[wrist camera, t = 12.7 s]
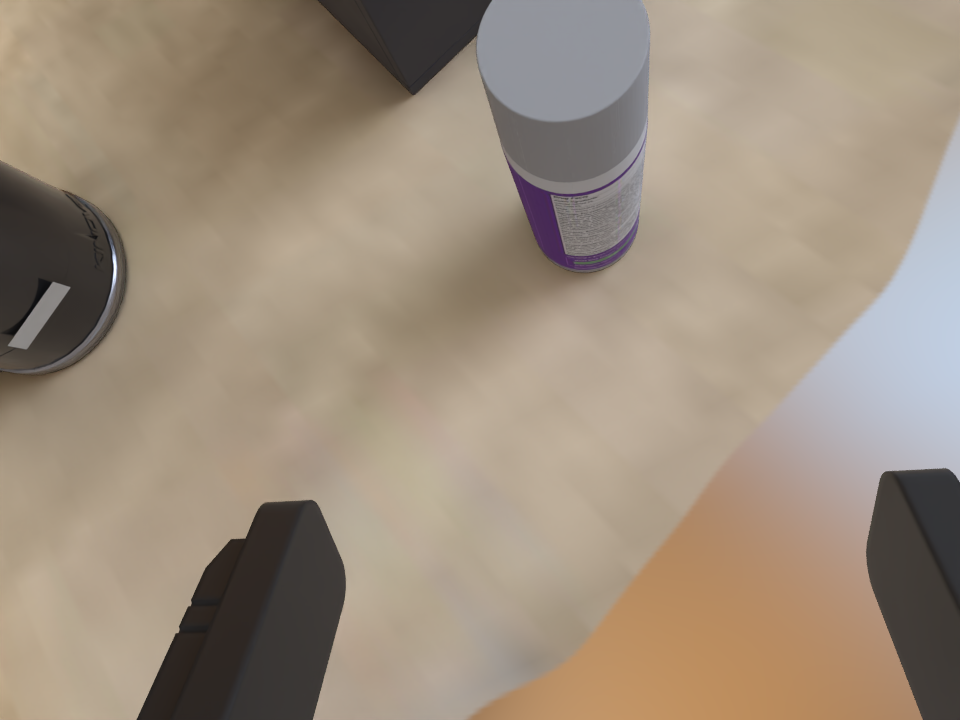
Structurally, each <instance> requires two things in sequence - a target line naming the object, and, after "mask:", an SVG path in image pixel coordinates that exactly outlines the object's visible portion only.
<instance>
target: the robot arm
mask: <svg viewBox="0 0 960 720" xmlns="http://www.w3.org/2000/svg"><path fill="white" fill-rule="evenodd" d="M125 280H126V264H125V256H124V251H123V247H122V244H121V241H120V238H119V236H118V234H117V232H116V230H115V228H114V226H113V225H112V223H111V222H110V220H109V219H108V218H107V217H106V216H105V215H104V214H103V213H102V212H101V211H100V210H99V209H98V208H97V207H96V206H94V205H93V204H91V203H90V202H88V201H86V200H84V199H82V198H80V197H78V196H76V195H74V194H72V193H69V192H66V191H64V190H60V189H57V188H55V187H53V186H51V185H49V184H47V183H45V182H43V181H41V180H39V179H37V178H35V177H33V176H31V175H29V174H27V173H25V172H23V171H21V170H19V169H17V168H15V167H13V166H11V165H9V164H7V163H5V162H3V161H1V160H0V372H2V371H7V372H13V373H19V374H27V375H38V374H46V373H51V372H55V371H58V370H61V369H63V368H66V367H68V366H70V365H72V364H73V363H75V362H77V361H78V360H80V359H81V358H83V357H84V356H85V355H86V354H88V353H89V352H90V351H91V350H92V349H93V348H94V347H95V346H96V345H97V344H98V343H99V342H100V341H101V339H102V338H103V337H104V335H105V334H106V333H107V331H108V330H109V328H110V326H111V325H112V323H113V321H114V319H115V317H116V315H117V313H118V310H119V308H120V305H121V301H122V298H123V293H124V288H125ZM866 557H867V567H868V573H869V578H870V582H871V585H872V589H873V591H874V594H875V597H876V599H877V602H878V604H879V607H880V610H881V612H882V615H883V618H884V620H885V623H886V625H887V628H888V630H889V633H890V635H891V638H892V641H893V643H894V646H895V649H896V651H897V654H898V656H899V659H900V662H901V664H902V667H903V669H904V672H905V674H906V677H907V680H908V682H909V685H910V687H911V690H912V692H913V695H914V698H915V700H916V703H917V706H918V708H919V711H920V713H921V716H922V718H923V720H960V482H959V480H958V479H957V477H956V476H955V475H954V474H953V472H951V471H950V470H949V469H946V468H945V469H944V468H943V469H925V470H906V471H887V472H884V473H883V474H882V476H881V478H880V482H879V487H878V491H877V496H876V501H875V507H874V512H873V516H872V521H871V526H870V531H869V535H868V541H867V549H866ZM345 590H346V578H345V570H344V565H343V562H342V559H341V557H340V554H339V552H338V550H337V547H336V545H335V543H334V540H333V538H332V536H331V533H330V531H329V529H328V526H327V524H326V522H325V519H324V517H323V515H322V513H321V510H320V508H319V506H318V505H317V503H316V502H315V501H313V500H304V501H285V502H267V503H264V504H262V505H261V506H260V508H259V509H258V511H257V513H256V515H255V517H254V520H253V522H252V524H251V527H250V529H249V532H248V534H247V536H246V539H231V540H230V541H229V542H228V543H227V545H226V546H225V547H224V548H223V549H222V550H221V551H220V552H219V554H218V555H217V556H216V557H215V558H214V559H213V560H212V561H211V563H210V564H209V565H208V566H207V567H206V568H205V571H204V573H203V575H202V577H201V579H200V582H199V584H198V586H197V588H196V590H195V593H194V595H193V597H192V599H191V601H192V604H191V606H189V607H188V608H187V610H186V612H185V615H184V617H183V619H182V621H181V623H180V626H179V628H180V631H179V633H176V634H175V637H174V639H173V641H172V643H171V645H170V648H169V650H168V652H167V654H166V656H165V659H164V661H163V663H162V665H161V667H160V670H159V672H158V674H157V676H156V678H155V680H154V683H153V685H152V687H151V689H150V691H149V694H148V696H147V698H146V700H145V702H144V705H143V707H142V709H141V711H140V713H139V716H138V718H137V720H313V717H314V713H315V709H316V705H317V702H318V698H319V694H320V690H321V687H322V683H323V679H324V675H325V672H326V668H327V664H328V660H329V657H330V653H331V649H332V645H333V642H334V638H335V634H336V630H337V627H338V623H339V619H340V615H341V612H342V608H343V604H344V599H345Z"/></svg>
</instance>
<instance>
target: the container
mask: <svg viewBox="0 0 960 720" xmlns="http://www.w3.org/2000/svg"><path fill="white" fill-rule="evenodd" d="M649 50H650V26H649V20H648V15H647V12H646V9H645V6H644V4H643V2H642V0H492V1H491V3H490V4H489V6H488V8H487V9H486V11H485V13H484V15H483V18H482V20H481V23H480V26H479V30H478V34H477V41H476V57H477V63H478V67H479V71H480V74H481V78H482V81H483V84H484V88H485V91H486V94H487V98H488V101H489V104H490V108H491V111H492V114H493V118H494V121H495V124H496V128H497V131H498V135H499V138H500V142H501V146H502V149H503V152H504V155H505V157H506V160H507V163H508V165H509V168H510V171H511V174H512V176H513V179H514V182H515V184H516V187H517V190H518V193H519V195H520V198H521V201H522V203H523V206H524V209H525V212H526V214H527V217H528V220H529V222H530V225H531V228H532V231H533V233H534V236H535V239H536V241H537V243H538V245H539V247H540V249H541V250H542V252H543V253H544V254H545V256H546V257H547V258H548V259H549V260H551V261H552V262H553V263H555V264H556V265H558V266H560V267H562V268H564V269H566V270H570V271H574V272H594V271H598V270H602V269H604V268H607V267H609V266H611V265H612V264H614V263H615V262H617V261H618V260H619V259H621V258H622V257H623V256H624V255H625V253H626V252H627V251H628V250H629V248H630V247H631V245H632V243H633V241H634V239H635V236H636V233H637V228H638V222H639V211H640V201H641V190H642V179H643V168H644V157H645V147H646V136H647V125H648V84H649Z"/></svg>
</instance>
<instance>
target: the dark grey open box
mask: <svg viewBox="0 0 960 720" xmlns="http://www.w3.org/2000/svg"><path fill="white" fill-rule="evenodd" d="M318 1H319V2H320V3H321V4H322V5H323V6H324V7H325V8H326V9H327V10H328V11H329V12H330V13H331V14H332V15H333V16H334V17H335V18H336V19H337V20H338V21H339V22H340V23H341V24H342V25H343V26H344V27H345V28H346V29H347V30H348V31H349V32H350V33H351V34H352V35H353V36H354V37H355V38H356V39H357V40H358V41H359V42H360V43H361V44H362V45H363V46H364V47H365V48H366V49H367V50H368V51H369V52H370V53H371V54H372V55H373V56H374V57H375V58H376V59H377V60H378V61H379V62H380V63H381V64H382V65H383V66H384V67H385V68H386V69H387V70H388V71H389V72H390V73H391V74H392V75H393V76H394V77H395V78H396V79H397V80H398V81H399V82H400V83H401V84H402V85H403V86H404V87H405V88H406V89H407V90H408V91H409V92H410V93H411V94H412V95H415V94H416V93H417V92H418V91H419V90H420V89H421V88H422V87H423V86H424V85H425V84H426V83H427V82H428V81H429V80H430V79H431V78H432V77H433V76H434V75H435V74H436V73H437V72H438V71H440V70H441V69H442V68H443V67H444V66H445V65H446V64H447V63H448V62H449V61H450V60H451V59H452V58H453V57H454V56H455V55H456V54H457V53H458V52H459V51H460V50H461V49H462V48H463V47H464V46H466V45H467V44H468V43H469V42H470V41H471V40H472V39H473V38H474V37H475V36H476V35H477V34H478V30H479V26H480V23H481V20H482V18H483V15H484V13H485V11H486V9H487V8H488V6H489V4H490V3H491V1H492V0H318Z"/></svg>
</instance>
